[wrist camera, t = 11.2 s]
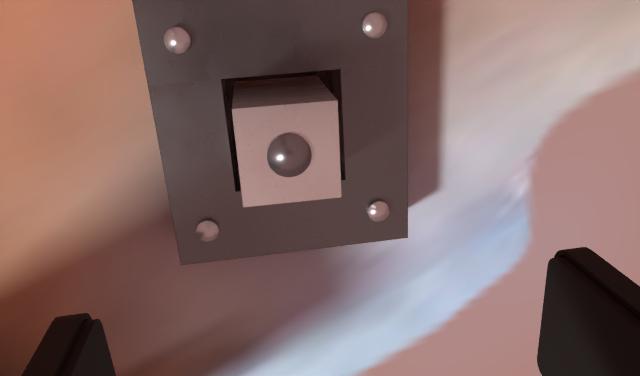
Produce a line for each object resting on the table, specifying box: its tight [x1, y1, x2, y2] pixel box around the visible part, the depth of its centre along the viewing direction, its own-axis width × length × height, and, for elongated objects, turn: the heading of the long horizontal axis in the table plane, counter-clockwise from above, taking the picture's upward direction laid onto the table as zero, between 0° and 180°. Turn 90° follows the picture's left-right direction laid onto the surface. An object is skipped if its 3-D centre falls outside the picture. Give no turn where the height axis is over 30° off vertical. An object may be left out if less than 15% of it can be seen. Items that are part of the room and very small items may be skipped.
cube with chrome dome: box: [232, 75, 341, 207], centre depth 26 cm, size 5×5×7 cm
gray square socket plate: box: [132, 0, 408, 265], centre depth 28 cm, size 14×13×3 cm
